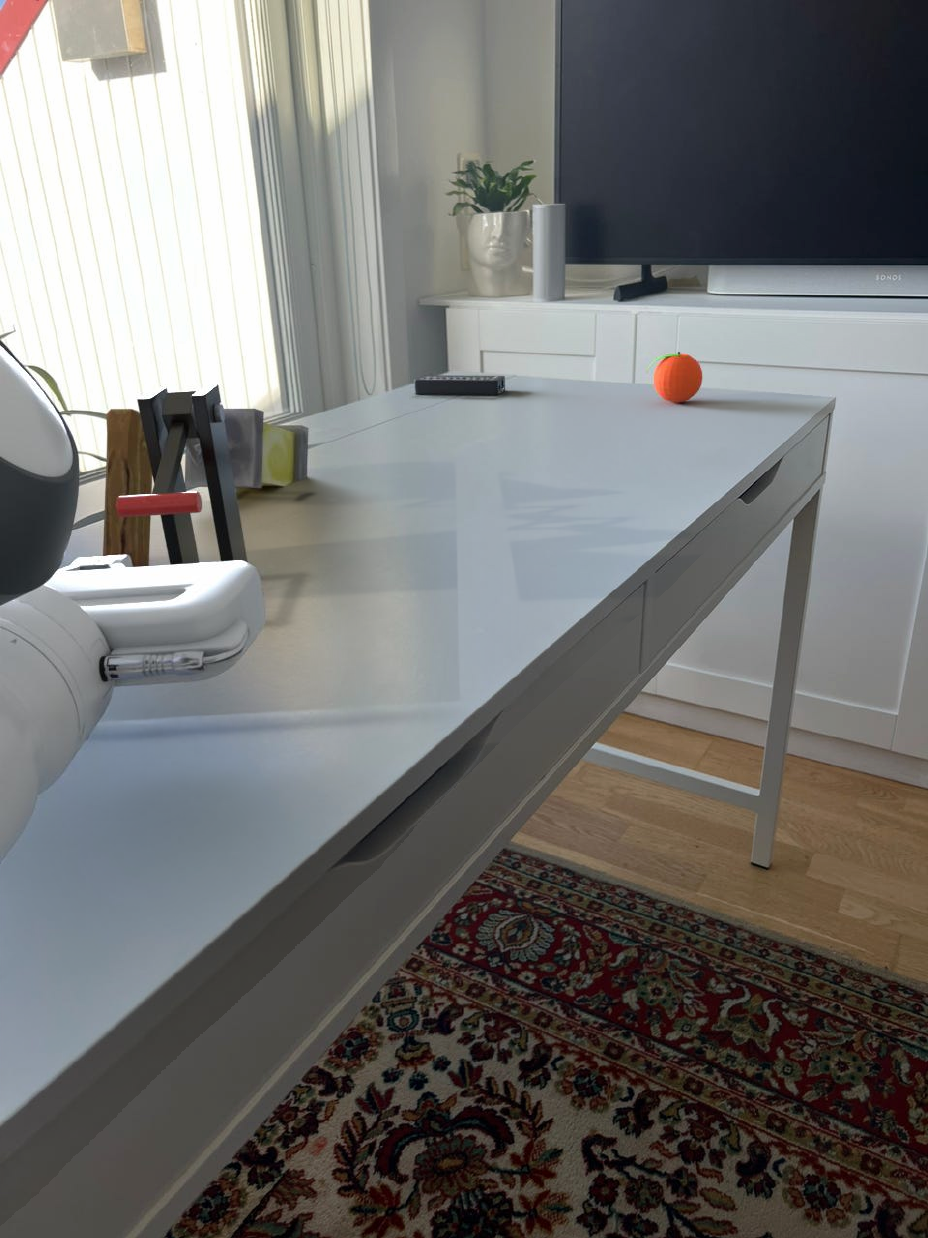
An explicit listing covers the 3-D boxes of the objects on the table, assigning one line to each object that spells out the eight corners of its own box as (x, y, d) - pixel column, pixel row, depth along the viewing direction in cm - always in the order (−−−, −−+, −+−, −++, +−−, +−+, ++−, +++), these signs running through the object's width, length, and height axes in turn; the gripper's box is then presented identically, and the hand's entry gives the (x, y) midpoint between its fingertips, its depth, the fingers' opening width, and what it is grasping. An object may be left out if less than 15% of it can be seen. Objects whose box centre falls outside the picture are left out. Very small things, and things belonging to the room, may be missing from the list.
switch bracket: (278, 617, 72) (244, 399, 65) (124, 626, 72) (74, 409, 65) (297, 570, 81) (270, 374, 74) (161, 578, 81) (120, 384, 74)
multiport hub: (424, 388, 156) (423, 374, 155) (506, 389, 151) (505, 375, 150) (414, 394, 152) (413, 379, 151) (497, 395, 147) (496, 380, 146)
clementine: (649, 408, 132) (650, 357, 129) (642, 399, 138) (643, 350, 135) (705, 405, 132) (708, 354, 129) (696, 396, 138) (698, 347, 135)
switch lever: (202, 521, 64) (193, 495, 62) (123, 526, 64) (111, 500, 62) (225, 414, 72) (217, 388, 70) (155, 418, 72) (145, 393, 70)
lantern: (242, 576, 107) (65, 576, 78) (246, 427, 106) (69, 372, 77) (303, 579, 105) (145, 580, 76) (308, 427, 104) (149, 370, 75)
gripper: (223, 599, 40) (278, 504, 52) (-248, 629, 40) (-80, 527, 52) (247, 726, 42) (294, 606, 55) (-197, 754, 42) (-48, 628, 55)
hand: (108, 568), depth 54 cm, fingers closed
